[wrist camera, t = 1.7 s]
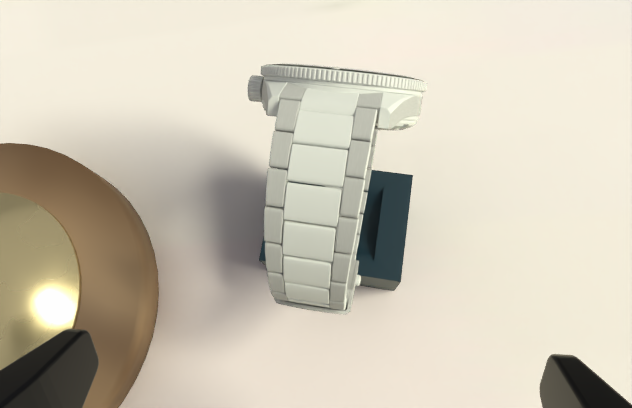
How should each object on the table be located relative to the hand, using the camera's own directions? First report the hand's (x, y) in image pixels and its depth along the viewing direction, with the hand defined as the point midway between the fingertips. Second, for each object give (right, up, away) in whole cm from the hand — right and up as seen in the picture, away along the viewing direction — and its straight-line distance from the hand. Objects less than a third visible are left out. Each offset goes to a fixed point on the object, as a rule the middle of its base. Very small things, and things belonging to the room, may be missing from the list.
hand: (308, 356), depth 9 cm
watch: (+1, +2, +12) cm, 13 cm away
